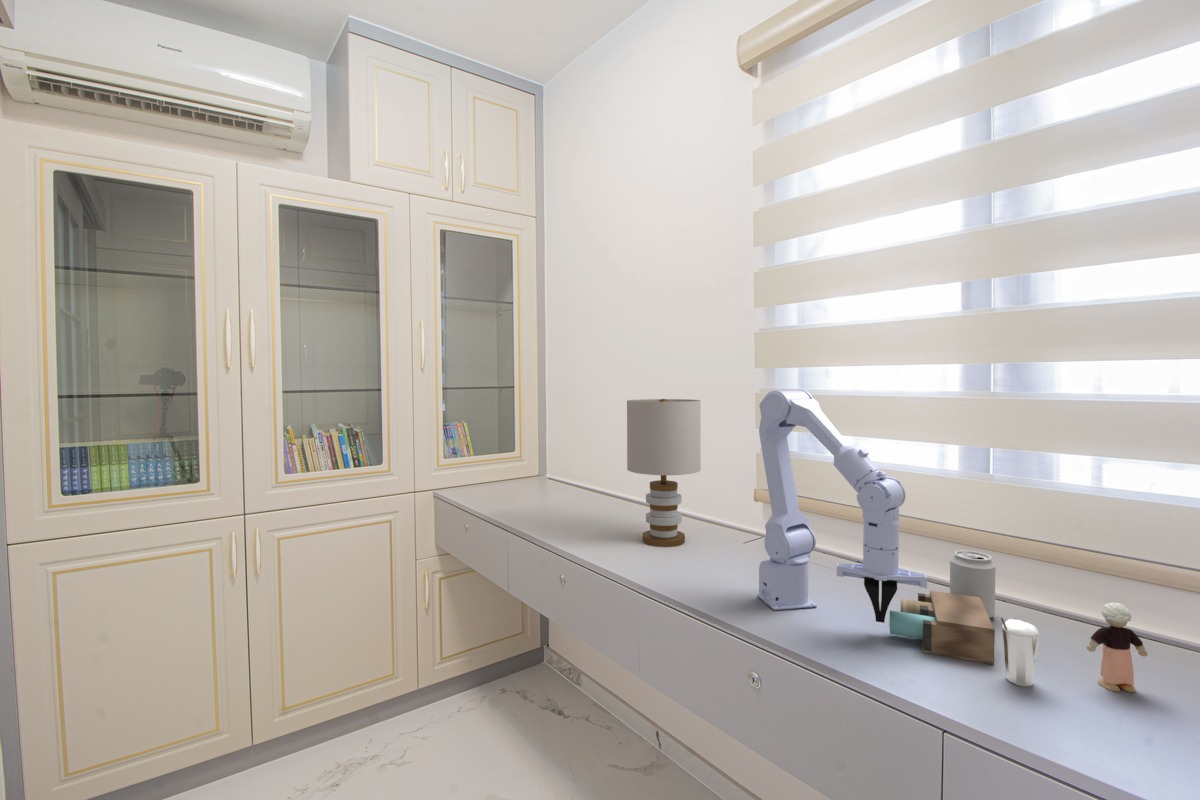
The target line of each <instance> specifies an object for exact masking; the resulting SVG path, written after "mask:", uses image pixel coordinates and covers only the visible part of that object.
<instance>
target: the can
mask: <svg viewBox="0 0 1200 800" xmlns="http://www.w3.org/2000/svg"><path fill="white" fill-rule="evenodd" d="M953 554H954V555H953V556H952V557H951V558H950V559H949V593H952V594H959V595H966V596H974V597H980V599H981V601H982V603H983V605H984V608H985V610H986V612H987V614H988V616H989V618H990V619H991V618H993V617H995V613H996V609H995V608H996V607H995V606H996V569H997V568H996V566H997V565H996V564H995V562H993V560H992V559H993V557H992V556H991V555H990V554H987V553H984V552H980V551H975V550H964V549H963V550H961V549H960V550H956V551H954V553H953Z"/></svg>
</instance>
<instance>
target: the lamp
mask: <svg viewBox="0 0 1200 800" xmlns="http://www.w3.org/2000/svg"><path fill="white" fill-rule="evenodd" d="M701 468H702V467H701V400H700V399H688V398H687V399H685V398H684V399H682V398H681V399H680V398H677V399H676V398H673V399H672V398H658V399H657V398H656V399H655V398H653V399H652V398H649V399H648V398H647V399H628V400H626V470H627V471H628V472H630V473H635V474H640V475H649V476H660V479H658V480H653V481H650V482H649V492H648V493H646V494H645V503H646V504H648V505H649V512H647V513H646V514H645V522H646V523H647V524H648V525H649V527H650V530H646V531H644V532H643V533H642V542H643V544H644V543H645V544H646V545H649V546H653V547H661V548H672V547H679V546H681V545H683V544H685V542H686V535H685V533H684V532H681V531H680V530H678V527H679V525H680V524H682V522H683V521H682V514H681V513H679V512H678V508H679V507H678V506H679V505H681V504H682V501H683V499H682V497H683V496H682V495H681V494H680V493H678V487H679V486H678V482H677V481H675V480H667V476H682V475H691V474H696V473H697V474H698V473H700V472H701V470H702V469H701Z"/></svg>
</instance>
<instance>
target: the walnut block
mask: <svg viewBox="0 0 1200 800" xmlns="http://www.w3.org/2000/svg"><path fill="white" fill-rule="evenodd" d="M917 601H921V602H928V603H932V605H933V607H930V606H923V605H920V615H924V616H930V617H935V618H936V622H935V621H928V620H923V639H920V641H921V647H922V652H923V653H925V654H932V655H937V656H938V655H939V656H943V657H949V658H955V659H961V660H965V661H972V662H976V663H982V664H988V665H995V640H996V639H995V638H996V637H995V636H996V635H995V632H996V631H995V628H994V625H993V623H992V621H991V618H989V616H988V614H987V612H986V610H985V608H984V605H983V603H982V601H981V599H980V597H974V596H966V595H959V594H952V593H950V592H943V591H936V590H929V594H927V593H921V592H920V593H919V592H918V593H917Z"/></svg>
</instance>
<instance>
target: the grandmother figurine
mask: <svg viewBox="0 0 1200 800" xmlns="http://www.w3.org/2000/svg"><path fill="white" fill-rule="evenodd" d="M1101 614H1102V617H1103V618H1104V620H1105V621H1106V623H1107V624H1108V625H1110V626H1106V627H1100V628H1098V629H1097V630H1096V631H1095V632H1094V633H1093V634H1092V635H1091V636H1090V640H1089V641H1088V644H1087V645H1086V650H1087V651H1089V652H1093V653H1094V652H1095V651H1096V649H1097V648H1098V646H1099V645H1102V658H1101V665H1100V676H1101V677H1102V678H1100V679H1099V680H1098V681H1097V682H1098V685H1100V686H1101V687H1103V688H1105V689H1106V690H1108V691H1112V692H1120V691H1121V689H1122V690H1123V691H1126V692H1130V693H1136V692H1137V690H1136V688H1135V685H1134V684H1135V678H1134V677H1135V671H1134V670H1135V669H1134V665H1133V660H1132V658H1133V656H1132V653H1131V645H1133V646H1134V648H1135V650H1137V652H1138V655H1139V656H1141V657H1147V656H1148V654H1149V653H1148V651H1147V650H1146V648H1145V645H1144V643H1143V641H1142V640H1141V639H1140V638H1139V636H1138V634H1137V633H1135V632H1134V631H1133V630H1132V628H1131V629H1130V628H1128V627H1126V626H1127V624H1128V622H1131V621H1132V617H1133V616H1132V614H1131V612H1130V610H1129V609H1128V608H1127V607H1126V606H1125V605H1124V604H1123V603H1119V602H1108V603H1105V604H1104V605H1103V606H1102V609H1101Z"/></svg>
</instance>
